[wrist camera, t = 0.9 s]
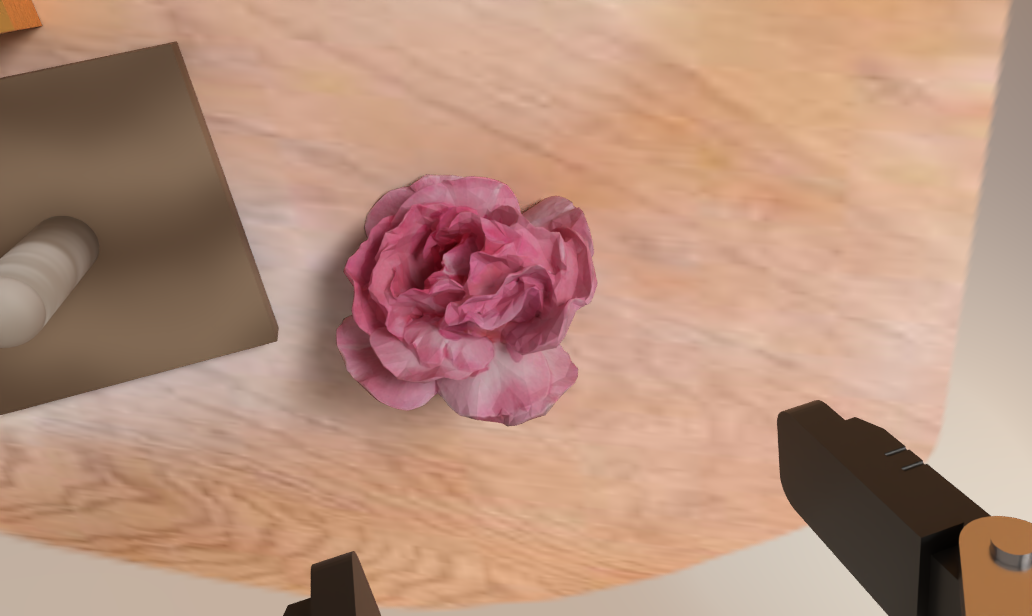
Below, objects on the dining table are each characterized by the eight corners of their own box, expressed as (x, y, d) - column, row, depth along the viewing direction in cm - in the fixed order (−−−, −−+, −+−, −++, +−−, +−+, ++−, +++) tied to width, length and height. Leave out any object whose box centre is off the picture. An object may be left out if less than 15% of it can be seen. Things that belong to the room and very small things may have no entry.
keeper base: (-178, 114, 28) (-393, 172, 20) (176, 41, 30) (122, 64, 22) (-13, 404, 34) (-125, 549, 25) (278, 327, 36) (267, 437, 27)
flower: (330, 202, 38) (369, 110, 28) (518, 221, 41) (606, 145, 32) (324, 436, 35) (365, 418, 26) (525, 435, 39) (622, 418, 30)
